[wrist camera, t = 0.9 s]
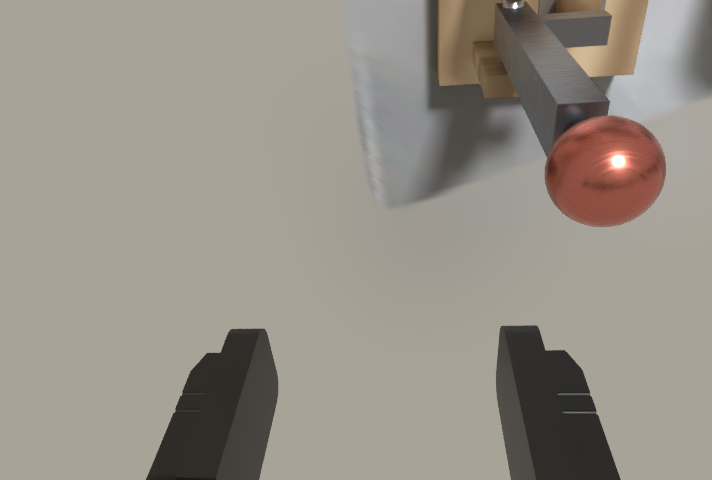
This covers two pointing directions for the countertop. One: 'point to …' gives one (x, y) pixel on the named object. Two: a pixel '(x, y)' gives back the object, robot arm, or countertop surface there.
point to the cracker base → (477, 14)
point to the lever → (577, 117)
